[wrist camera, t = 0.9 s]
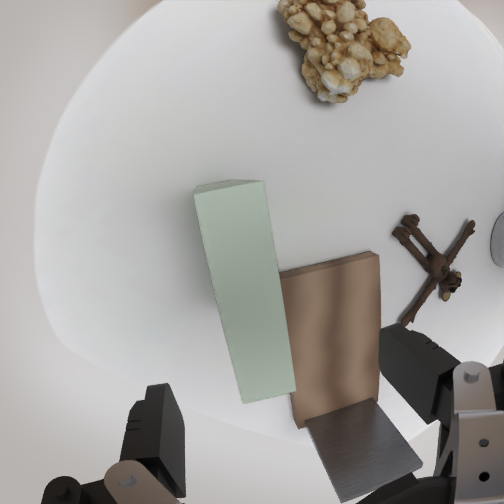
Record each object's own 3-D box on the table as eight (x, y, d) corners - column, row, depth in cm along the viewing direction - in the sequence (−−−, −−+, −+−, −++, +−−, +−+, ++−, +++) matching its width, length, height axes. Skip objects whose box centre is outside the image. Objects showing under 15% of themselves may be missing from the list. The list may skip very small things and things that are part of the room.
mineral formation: (312, 117, 30) (238, 5, 25) (386, 79, 33) (325, -16, 28) (359, 101, 23) (267, -36, 18) (432, 64, 25) (361, -45, 20)
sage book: (231, 179, 31) (263, 180, 15) (254, 300, 34) (296, 390, 19) (196, 186, 30) (193, 194, 15) (223, 307, 34) (242, 404, 18)
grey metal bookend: (372, 396, 38) (423, 462, 25) (371, 401, 38) (421, 467, 25) (304, 420, 37) (341, 499, 24) (305, 424, 37) (341, 503, 24)
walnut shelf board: (370, 251, 35) (379, 255, 33) (371, 394, 41) (377, 401, 39) (271, 274, 34) (275, 280, 32) (294, 419, 39) (298, 429, 37)
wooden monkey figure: (447, 169, 31) (498, 244, 34) (427, 170, 36) (479, 240, 38) (362, 289, 33) (428, 349, 35) (348, 279, 37) (413, 337, 40)
